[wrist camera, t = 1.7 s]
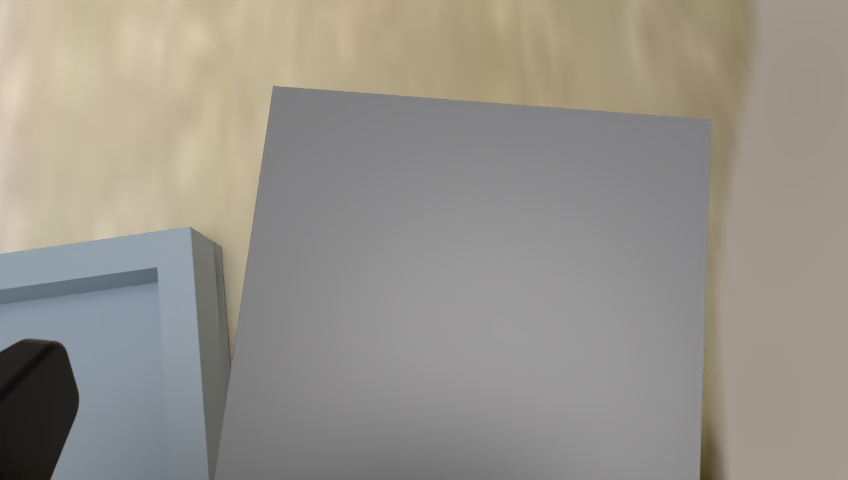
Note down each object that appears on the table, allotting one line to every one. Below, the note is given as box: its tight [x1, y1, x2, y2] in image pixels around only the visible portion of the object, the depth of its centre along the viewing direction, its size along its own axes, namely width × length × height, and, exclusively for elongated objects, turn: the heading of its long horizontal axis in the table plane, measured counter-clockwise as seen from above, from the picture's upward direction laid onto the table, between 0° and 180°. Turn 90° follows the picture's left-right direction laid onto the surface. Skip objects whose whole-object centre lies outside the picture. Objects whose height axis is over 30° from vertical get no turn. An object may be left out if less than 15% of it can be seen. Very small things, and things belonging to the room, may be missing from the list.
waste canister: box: [214, 86, 711, 480], centre depth 14 cm, size 5×5×10 cm
